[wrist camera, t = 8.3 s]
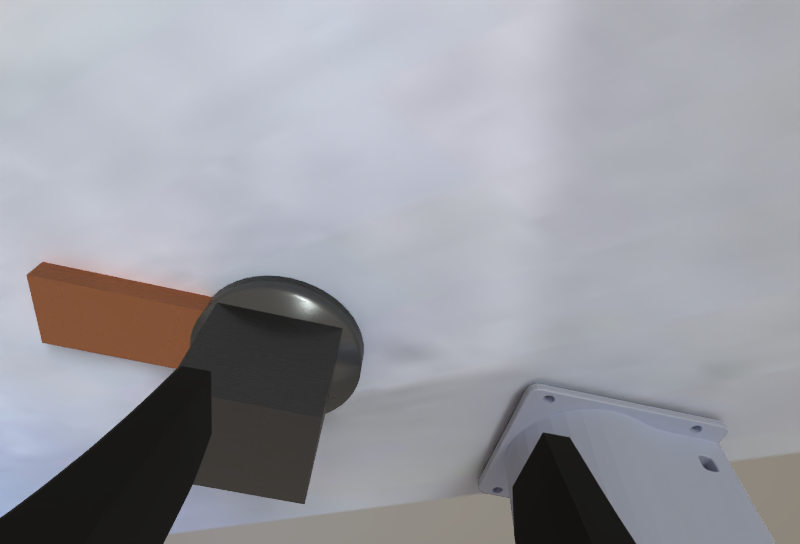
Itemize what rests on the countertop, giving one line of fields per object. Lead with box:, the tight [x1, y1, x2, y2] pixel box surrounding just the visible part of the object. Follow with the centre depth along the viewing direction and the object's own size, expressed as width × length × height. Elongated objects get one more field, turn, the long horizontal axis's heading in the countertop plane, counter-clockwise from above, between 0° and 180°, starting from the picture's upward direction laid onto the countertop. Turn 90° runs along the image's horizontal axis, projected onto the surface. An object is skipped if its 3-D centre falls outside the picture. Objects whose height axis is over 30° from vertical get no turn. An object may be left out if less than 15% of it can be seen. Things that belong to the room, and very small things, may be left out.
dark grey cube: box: [178, 303, 343, 504], centre depth 19 cm, size 5×5×4 cm
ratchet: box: [27, 262, 364, 414], centre depth 20 cm, size 14×7×4 cm, turn 77°
